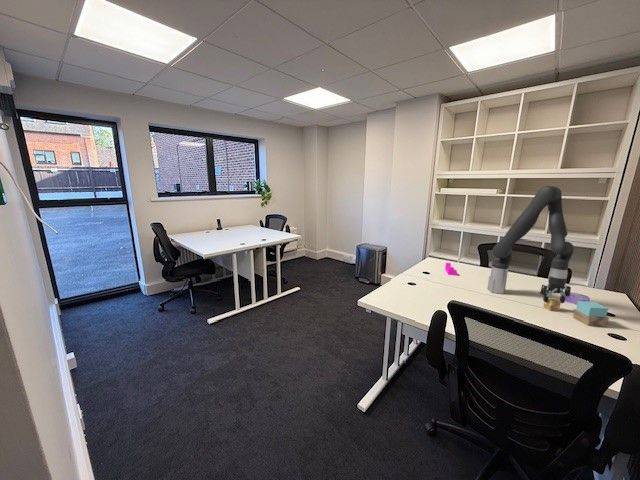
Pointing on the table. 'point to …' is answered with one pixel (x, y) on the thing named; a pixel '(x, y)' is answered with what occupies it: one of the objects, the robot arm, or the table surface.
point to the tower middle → (592, 309)
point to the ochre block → (552, 304)
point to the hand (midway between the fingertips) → (553, 302)
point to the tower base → (590, 319)
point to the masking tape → (577, 298)
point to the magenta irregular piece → (450, 269)
